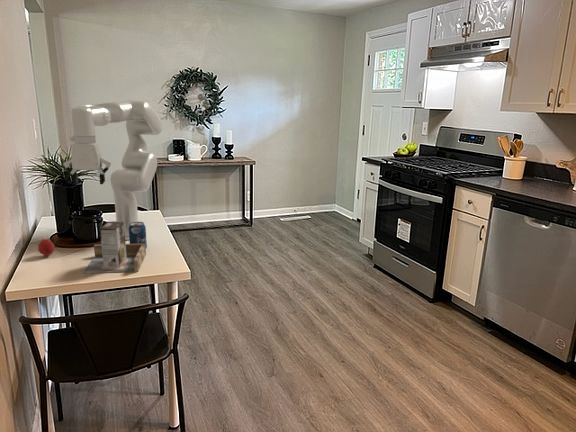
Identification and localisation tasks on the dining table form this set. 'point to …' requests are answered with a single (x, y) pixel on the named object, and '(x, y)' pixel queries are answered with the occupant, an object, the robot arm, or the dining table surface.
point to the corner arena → (131, 264)
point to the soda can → (137, 233)
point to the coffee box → (113, 244)
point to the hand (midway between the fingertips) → (89, 183)
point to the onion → (46, 247)
